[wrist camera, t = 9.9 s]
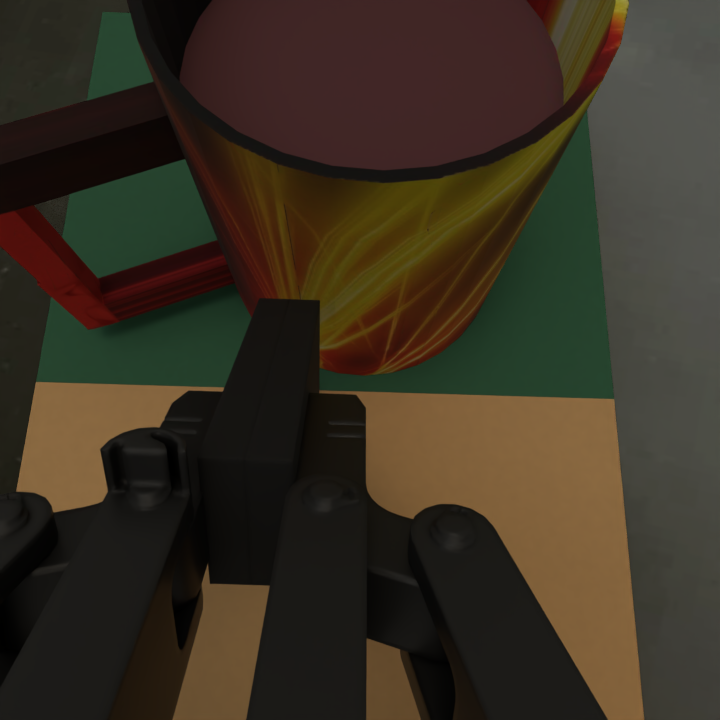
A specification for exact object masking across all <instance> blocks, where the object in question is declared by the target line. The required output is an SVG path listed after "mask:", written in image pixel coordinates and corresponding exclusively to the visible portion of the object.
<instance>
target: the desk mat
mask: <svg viewBox="0 0 720 720" xmlns="http://www.w3.org/2000/svg"><path fill="white" fill-rule="evenodd" d="M153 81H154V80H153V78H152V75H151V73H150V70H149V68H148V65H147V63H146V60H145V58H144V55H143V53H142V50H141V48H140V45H139V43H138V40H137V37H136V33H135V29H134V26H133V22H132V18H131V14H130V13H114V12H103V14H102V19H101V25H100V30H99V36H98V41H97V47H96V52H95V58H94V63H93V69H92V75H91V80H90V86H89V91H88V97H87V100H91V99H94V98H98V97H101V96H105V95H108V94H112V93H115V92H119V91H122V90H126V89H129V88H133V87H136V86H139V85H143V84H146V83H150V82H153ZM62 238H63V239H64V240H65V241H66V243H67V244H68V245H69V246H70V247H71V248H72V249H73V251H74V252H75V253H76V254H77V255H78V256H79V257H80V258H81V260H82V261H83V262H84V263H85V264H86V265H87V266H88V268H89V269H90V270H91V271H92V272H93V273H94V274H95V275H96V277H97V278H101V277H104V276H107V275H110V274H113V273H116V272H119V271H122V270H125V269H128V268H132V267H135V266H138V265H141V264H144V263H147V262H150V261H153V260H156V259H159V258H163V257H166V256H169V255H172V254H175V253H178V252H181V251H184V250H187V249H191V248H194V247H197V246H200V245H203V244H206V243H209V242H212V241H215V240H217V237H216V235H215V232H214V230H213V227H212V225H211V222H210V220H209V217H208V215H207V212H206V210H205V207H204V205H203V202H202V200H201V197H200V195H199V192H198V190H197V187H196V185H195V182H194V180H193V177H192V175H191V172H190V170H189V167H188V165H187V163H186V160H185V159H184V160H180V161H177V162H174V163H170V164H167V165H164V166H161V167H157V168H154V169H151V170H147V171H144V172H141V173H138V174H134V175H131V176H128V177H124V178H121V179H118V180H115V181H111V182H108V183H105V184H101V185H98V186H95V187H92V188H88V189H85V190H82V191H78V192H75V193H72V194H70V197H69V202H68V208H67V213H66V219H65V224H64V230H63V235H62ZM250 321H251V316H250V314H249V312H248V310H247V308H246V306H245V304H244V303H243V301H242V299H241V297H240V295H239V292H238V290H237V287H236V285H235V283H234V284H231V285H228V286H225V287H222V288H219V289H216V290H213V291H210V292H207V293H204V294H201V295H198V296H195V297H192V298H189V299H186V300H183V301H180V302H177V303H174V304H171V305H168V306H165V307H162V308H158V309H155V310H152V311H149V312H146V313H143V314H140V315H137V316H134V317H131V318H128V319H125V320H122V321H120V322H117V323H114V324H110V325H106V326H103V327H99V328H95V329H90V330H88V329H87V328H86V327H85V326H84V325H83V324H81V323H80V322H79V321H78V320H77V319H76V318H75V317H74V316H72V315H71V314H70V313H69V312H68V311H67V310H66V309H65V308H63V307H62V306H61V305H60V304H59V303H58V302H57V301H56V300H54V299H53V298H52V297H51V302H50V308H49V313H48V319H47V324H46V330H45V335H44V341H43V346H42V352H41V358H40V363H39V369H38V374H37V380H36V385H35V391H34V396H33V402H32V407H31V413H30V419H29V424H28V430H27V435H26V441H25V446H24V452H23V457H22V463H21V468H20V474H19V480H18V485H17V491H16V492H33V493H36V494H39V495H41V496H43V497H46V498H47V500H48V501H49V503H50V504H51V506H52V509H53V512H59V511H64V510H70V509H75V508H81V507H86V506H89V505H93V504H97V503H100V502H102V501H103V499H104V498H105V496H106V494H107V492H108V489H107V484H106V478H105V473H104V467H103V462H102V457H101V451H100V449H101V448H102V447H103V446H104V445H105V444H106V443H107V442H108V441H109V440H110V439H112V438H114V437H115V436H117V435H119V434H121V433H123V432H127V431H130V430H134V429H137V428H147V427H159V428H160V426H161V424H162V422H163V421H164V418H165V416H166V414H167V412H168V410H169V408H170V406H171V404H172V403H173V402H174V401H175V400H177V399H178V398H179V397H181V396H182V395H183V394H185V393H186V392H187V391H188V390H192V391H220V392H223V390H224V387H225V385H226V382H227V380H228V377H229V374H230V372H231V369H232V367H233V364H234V362H235V359H236V356H237V354H238V351H239V349H240V346H241V344H242V341H243V339H244V336H245V333H246V331H247V328H248V326H249V323H250ZM319 393H327V394H355V395H357V396H358V398H359V399H360V400H361V402H362V403H363V404H364V406H365V407H366V486H367V491H368V493H369V495H370V496H371V498H372V499H373V500H374V501H375V502H376V503H377V504H378V505H379V506H381V507H383V508H384V509H386V510H387V511H389V512H392V513H395V514H398V515H400V516H404V517H408V518H411V519H414V517H415V515H417V514H418V513H419V512H420V511H422V510H423V509H424V508H427V507H430V506H434V505H437V504H456V505H460V506H464V507H468V508H471V509H473V510H475V511H476V512H478V513H480V514H482V515H483V516H485V517H486V518H487V520H488V521H489V522H490V523H491V524H492V525H493V526H494V528H495V529H496V531H497V533H498V535H499V536H500V538H501V540H502V541H503V543H504V545H505V546H506V548H507V550H508V551H509V553H510V555H511V556H512V558H513V560H514V562H515V563H516V565H517V567H518V568H519V570H520V572H521V573H522V575H523V577H524V578H525V580H526V582H527V584H528V585H529V587H530V589H531V590H532V592H533V594H534V595H535V597H536V599H537V600H538V602H539V604H540V605H541V607H542V609H543V611H544V612H545V614H546V616H547V617H548V619H549V621H550V622H551V624H552V626H553V627H554V629H555V631H556V633H557V634H558V636H559V638H560V639H561V641H562V643H563V644H564V646H565V648H566V649H567V651H568V653H569V654H570V656H571V658H572V660H573V661H574V663H575V665H576V666H577V668H578V670H579V671H580V673H581V675H582V676H583V678H584V680H585V682H586V683H587V685H588V687H589V688H590V690H591V692H592V693H593V695H594V697H595V698H596V700H597V702H598V703H599V705H600V707H601V709H602V710H603V712H604V714H605V715H606V717H607V719H608V720H644V713H643V702H642V691H641V681H640V670H639V659H638V649H637V638H636V628H635V617H634V606H633V596H632V585H631V574H630V564H629V553H628V543H627V532H626V521H625V511H624V500H623V489H622V479H621V468H620V458H619V447H618V436H617V426H616V415H615V404H614V394H613V383H612V373H611V362H610V351H609V341H608V330H607V319H606V309H605V298H604V287H603V277H602V266H601V256H600V245H599V234H598V224H597V213H596V202H595V192H594V181H593V171H592V160H591V149H590V139H589V128H588V117H587V110H586V112H585V114H584V116H583V118H582V120H581V122H580V123H579V125H578V127H577V129H576V131H575V133H574V135H573V136H572V138H571V140H570V142H569V144H568V146H567V148H566V150H565V151H564V153H563V155H562V157H561V159H560V161H559V163H558V164H557V166H556V168H555V170H554V172H553V174H552V176H551V178H550V179H549V181H548V183H547V185H546V187H545V189H544V191H543V192H542V194H541V196H540V198H539V200H538V202H537V204H536V206H535V207H534V209H533V211H532V213H531V215H530V217H529V219H528V220H527V222H526V224H525V226H524V228H523V230H522V232H521V233H520V235H519V237H518V239H517V241H516V243H515V245H514V247H513V248H512V250H511V252H510V254H509V256H508V258H507V260H506V261H505V263H504V265H503V267H502V269H501V271H500V273H499V275H498V276H497V278H496V280H495V282H494V284H493V286H492V288H491V289H490V291H489V293H488V295H487V297H486V299H485V301H484V303H483V304H482V306H481V308H480V310H479V312H478V314H477V316H476V317H475V319H474V320H473V321H472V323H471V324H470V325H469V326H468V328H467V329H466V330H465V331H464V333H463V334H462V335H461V336H460V337H459V338H458V339H457V340H456V341H454V342H453V343H452V344H451V345H450V346H448V347H447V348H446V349H445V350H443V351H442V352H441V353H440V354H438V355H436V356H434V357H432V358H430V359H428V360H426V361H424V362H423V363H421V364H419V365H417V366H413V367H410V368H407V369H403V370H400V371H396V372H393V373H386V374H376V375H366V376H364V375H353V374H341V373H335V372H332V371H329V370H325V369H322V368H320V371H319ZM269 587H270V586H263V585H233V584H210V580H209V570H208V565H207V568H206V571H205V575H204V578H203V582H202V590H203V611H202V615H201V618H200V622H199V626H198V629H197V633H196V636H195V640H194V644H193V647H192V651H191V655H190V658H189V662H188V665H187V669H186V673H185V676H184V680H183V684H182V687H181V691H180V694H179V698H178V702H177V705H176V709H175V713H174V716H173V720H246V717H247V712H248V706H249V700H250V695H251V689H252V683H253V678H254V672H255V666H256V661H257V655H258V649H259V644H260V638H261V632H262V627H263V621H264V615H265V610H266V604H267V598H268V593H269ZM366 720H421V718H420V715H419V712H418V709H417V706H416V702H415V699H414V696H413V693H412V690H411V687H410V684H409V681H408V678H407V675H406V672H405V669H404V666H403V663H402V660H401V656H400V649H397V648H394V647H391V646H388V645H385V644H382V643H379V642H376V641H374V640H371V639H368V638H367V680H366Z"/></svg>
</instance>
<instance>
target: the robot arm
mask: <svg viewBox="0 0 720 720" xmlns="http://www.w3.org/2000/svg"><path fill="white" fill-rule="evenodd" d="M319 371H320V300H300V299H272V298H259V300H258V303H257V305H256V308H255V310H254V313H253V316H252V318H251V321H250V323H249V326H248V328H247V331H246V333H245V336H244V339H243V341H242V344H241V346H240V349H239V351H238V354H237V356H236V359H235V362H234V364H233V367H232V369H231V372H230V374H229V377H228V380H227V382H226V385H225V387H224V390H223V392H220V391H192V390H188V391H187V392H186V393H185V394H183V395H182V396H181V397H179V398H178V399H177V400H175V401H174V402H173V403H172V404H171V406H170V408H169V410H168V412H167V414H166V416H165V418H164V421H163V422H162V424H161V426H160V428H159V427H147V428H137V429H134V430H130V431H127V432H123V433H121V434H119V435H117V436H115V437H114V438H112V439H110V440H109V441H108V442H107V443H106V444H105V445H104V446H103V447H102V448H101V449H100V451H101V457H102V462H103V467H104V473H105V478H106V484H107V489H108V492H107V494H106V496H105V498H104V499H103V501H102V502H100V503H97V504H93V505H89V506H86V507H81V508H75V509H70V510H64V511H59V512H53V509H52V506H51V504H50V503H49V501H48V500H47V498H46V497H43V496H41V495H39V494H36V493H33V492H13V493H8V494H2V495H0V720H173V716H174V713H175V709H176V705H177V702H178V698H179V694H180V691H181V687H182V684H183V680H184V676H185V673H186V669H187V665H188V662H189V658H190V655H191V651H192V647H193V644H194V640H195V636H196V633H197V629H198V626H199V622H200V618H201V615H202V611H203V590H202V582H203V578H204V575H205V571H206V568H207V565H208V570H209V580H210V584H233V585H263V586H270V587H269V593H268V598H267V604H266V610H265V615H264V621H263V627H262V632H261V638H260V644H259V649H258V655H257V661H256V666H255V672H254V678H253V683H252V689H251V695H250V700H249V706H248V712H247V717H246V720H366V680H367V638H368V639H371V640H374V641H376V642H379V643H382V644H385V645H388V646H391V647H394V648H397V649H400V656H401V660H402V663H403V666H404V669H405V672H406V675H407V678H408V681H409V684H410V687H411V690H412V693H413V696H414V699H415V702H416V706H417V709H418V712H419V715H420V718H421V720H608V719H607V717H606V715H605V714H604V712H603V710H602V709H601V707H600V705H599V703H598V702H597V700H596V698H595V697H594V695H593V693H592V692H591V690H590V688H589V687H588V685H587V683H586V682H585V680H584V678H583V676H582V675H581V673H580V671H579V670H578V668H577V666H576V665H575V663H574V661H573V660H572V658H571V656H570V654H569V653H568V651H567V649H566V648H565V646H564V644H563V643H562V641H561V639H560V638H559V636H558V634H557V633H556V631H555V629H554V627H553V626H552V624H551V622H550V621H549V619H548V617H547V616H546V614H545V612H544V611H543V609H542V607H541V605H540V604H539V602H538V600H537V599H536V597H535V595H534V594H533V592H532V590H531V589H530V587H529V585H528V584H527V582H526V580H525V578H524V577H523V575H522V573H521V572H520V570H519V568H518V567H517V565H516V563H515V562H514V560H513V558H512V556H511V555H510V553H509V551H508V550H507V548H506V546H505V545H504V543H503V541H502V540H501V538H500V536H499V535H498V533H497V531H496V529H495V528H494V526H493V525H492V524H491V523H490V522H489V521H488V520H487V518H486V517H485V516H483V515H482V514H480V513H478V512H476V511H475V510H473V509H471V508H468V507H464V506H460V505H456V504H437V505H434V506H430V507H427V508H424V509H423V510H422V511H420V512H419V513H418V514H417V515H415V517H414V519H411V518H408V517H404V516H400V515H398V514H395V513H392V512H389V511H387V510H386V509H384V508H383V507H381V506H379V505H378V504H377V503H376V502H375V501H374V500H373V499H372V498H371V496H370V495H369V493H368V491H367V486H366V407H365V406H364V404H363V403H362V402H361V400H360V399H359V398H358V396H357V395H355V394H327V393H319Z"/></svg>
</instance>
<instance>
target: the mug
mask: <svg viewBox="0 0 720 720" xmlns="http://www.w3.org/2000/svg"><path fill="white" fill-rule="evenodd" d="M127 3H128V7H129V10H130V14H131V18H132V22H133V26H134V29H135V33H136V37H137V40H138V43H139V45H140V48H141V50H142V53H143V55H144V58H145V60H146V63H147V65H148V68H149V70H150V73H151V75H152V78H153V80H154V81H153V82H150V83H146V84H143V85H139V86H136V87H133V88H129V89H126V90H122V91H119V92H115V93H112V94H108V95H105V96H101V97H98V98H94V99H91V100H87V101H84V102H80V103H77V104H73V105H70V106H66V107H63V108H59V109H56V110H52V111H49V112H45V113H42V114H38V115H35V116H31V117H28V118H25V119H21V120H18V121H14V122H11V123H7V124H4V125H0V247H2V248H3V249H4V250H5V251H6V252H7V253H8V254H9V255H10V256H11V257H13V258H14V259H15V260H16V261H17V262H18V263H19V264H20V265H21V266H23V267H24V268H25V269H26V270H27V271H28V272H29V273H30V274H31V275H32V276H34V277H35V278H36V279H37V282H38V285H39V286H40V287H41V288H42V289H43V290H44V291H46V292H47V293H48V294H49V295H50V296H51V297H52V298H53V299H54V300H56V301H57V302H58V303H59V304H60V305H61V306H62V307H63V308H65V309H66V310H67V311H68V312H69V313H70V314H71V315H72V316H74V317H75V318H76V319H77V320H78V321H79V322H80V323H81V324H83V325H84V326H85V327H86V328H87V329H88V330H90V329H95V328H99V327H103V326H106V325H110V324H114V323H117V322H120V321H122V320H125V319H128V318H131V317H134V316H137V315H140V314H143V313H146V312H149V311H152V310H155V309H158V308H162V307H165V306H168V305H171V304H174V303H177V302H180V301H183V300H186V299H189V298H192V297H195V296H198V295H201V294H204V293H207V292H210V291H213V290H216V289H219V288H222V287H225V286H228V285H231V284H234V283H235V285H236V287H237V290H238V292H239V295H240V297H241V299H242V301H243V303H244V304H245V306H246V308H247V310H248V312H249V314H250V316H251V318H252V316H253V313H254V310H255V308H256V305H257V303H258V300H259V298H272V299H300V300H320V368H322V369H325V370H329V371H332V372H335V373H341V374H353V375H364V376H366V375H376V374H386V373H393V372H396V371H400V370H403V369H407V368H410V367H413V366H417V365H419V364H421V363H423V362H424V361H426V360H428V359H430V358H432V357H434V356H436V355H438V354H440V353H441V352H442V351H443V350H445V349H446V348H447V347H448V346H450V345H451V344H452V343H453V342H454V341H456V340H457V339H458V338H459V337H460V336H461V335H462V334H463V333H464V331H465V330H466V329H467V328H468V326H469V325H470V324H471V323H472V321H473V320H474V319H475V317H476V316H477V314H478V312H479V310H480V308H481V306H482V304H483V303H484V301H485V299H486V297H487V295H488V293H489V291H490V289H491V288H492V286H493V284H494V282H495V280H496V278H497V276H498V275H499V273H500V271H501V269H502V267H503V265H504V263H505V261H506V260H507V258H508V256H509V254H510V252H511V250H512V248H513V247H514V245H515V243H516V241H517V239H518V237H519V235H520V233H521V232H522V230H523V228H524V226H525V224H526V222H527V220H528V219H529V217H530V215H531V213H532V211H533V209H534V207H535V206H536V204H537V202H538V200H539V198H540V196H541V194H542V192H543V191H544V189H545V187H546V185H547V183H548V181H549V179H550V178H551V176H552V174H553V172H554V170H555V168H556V166H557V164H558V163H559V161H560V159H561V157H562V155H563V153H564V151H565V150H566V148H567V146H568V144H569V142H570V140H571V138H572V136H573V135H574V133H575V131H576V129H577V127H578V125H579V123H580V122H581V120H582V118H583V116H584V114H585V112H586V110H587V108H588V107H589V105H590V103H591V101H592V99H593V97H594V95H595V94H596V92H597V90H598V88H599V86H600V84H601V82H602V80H603V78H604V76H605V74H606V72H607V70H608V68H609V66H610V64H611V62H612V60H613V58H614V56H615V54H616V52H617V50H618V48H619V46H620V44H621V40H622V35H623V31H624V26H625V21H626V16H627V12H628V7H629V0H127ZM184 159H185V160H186V163H187V165H188V167H189V170H190V172H191V175H192V177H193V180H194V182H195V185H196V187H197V190H198V192H199V195H200V197H201V200H202V202H203V205H204V207H205V210H206V212H207V215H208V217H209V220H210V222H211V225H212V227H213V230H214V232H215V235H216V237H217V240H215V241H212V242H209V243H206V244H203V245H200V246H197V247H194V248H191V249H187V250H184V251H181V252H178V253H175V254H172V255H169V256H166V257H163V258H159V259H156V260H153V261H150V262H147V263H144V264H141V265H138V266H135V267H132V268H128V269H125V270H122V271H119V272H116V273H113V274H110V275H107V276H104V277H101V278H97V277H96V275H95V274H94V273H93V272H92V271H91V270H90V269H89V268H88V266H87V265H86V264H85V263H84V262H83V261H82V260H81V258H80V257H79V256H78V255H77V254H76V253H75V252H74V251H73V249H72V248H71V247H70V246H69V245H68V244H67V243H66V241H65V240H64V239H63V238H62V237H61V236H60V235H59V234H58V232H57V231H56V230H55V229H54V228H53V227H52V226H51V224H50V223H49V222H48V221H47V220H46V219H45V218H44V217H43V215H42V214H41V213H40V212H39V211H38V210H37V209H36V207H35V206H34V205H36V204H39V203H42V202H46V201H49V200H52V199H55V198H59V197H62V196H65V195H69V194H72V193H75V192H78V191H82V190H85V189H88V188H92V187H95V186H98V185H101V184H105V183H108V182H111V181H115V180H118V179H121V178H124V177H128V176H131V175H134V174H138V173H141V172H144V171H147V170H151V169H154V168H157V167H161V166H164V165H167V164H170V163H174V162H177V161H180V160H184Z"/></svg>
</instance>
